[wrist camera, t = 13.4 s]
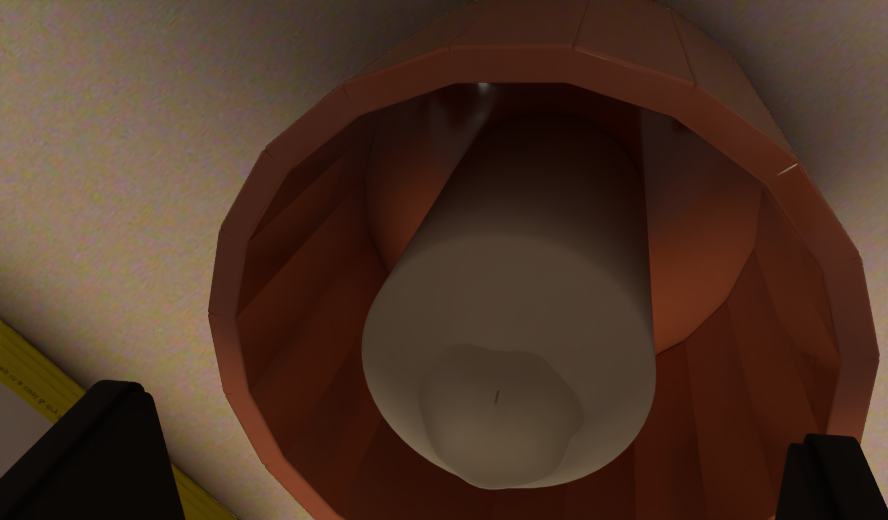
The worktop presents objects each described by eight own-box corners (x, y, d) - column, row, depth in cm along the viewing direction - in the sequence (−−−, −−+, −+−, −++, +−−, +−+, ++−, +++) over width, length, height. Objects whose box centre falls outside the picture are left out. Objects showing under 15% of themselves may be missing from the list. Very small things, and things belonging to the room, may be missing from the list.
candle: (430, 131, 22) (293, 299, 13) (629, 91, 20) (630, 251, 11) (475, 303, 24) (384, 548, 15) (659, 279, 22) (680, 539, 13)
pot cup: (371, 366, 26) (259, 573, 18) (331, -12, 21) (151, 49, 13) (751, 397, 24) (813, 653, 16) (813, -26, 18) (954, 39, 10)
